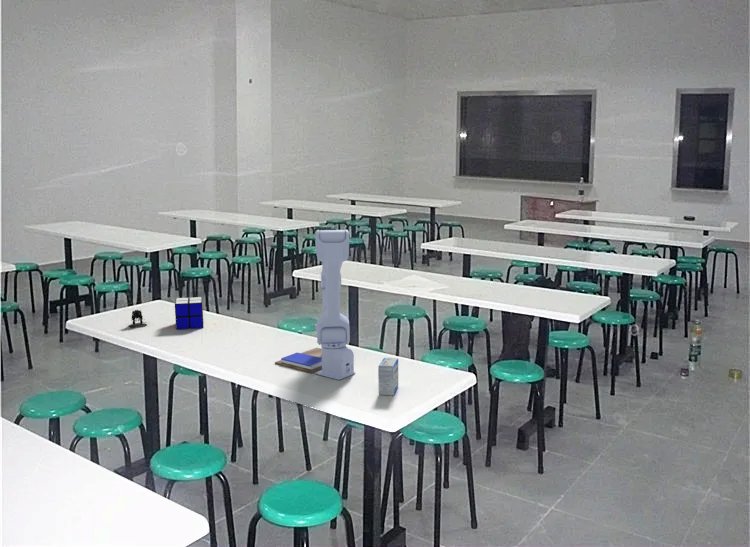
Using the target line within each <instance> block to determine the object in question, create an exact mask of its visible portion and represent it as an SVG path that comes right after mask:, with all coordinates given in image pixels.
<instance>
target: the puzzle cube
mask: <svg viewBox="0 0 750 547" xmlns="http://www.w3.org/2000/svg"><path fill="white" fill-rule="evenodd" d="M203 304H204V303H203V297H201V296H198V297H197V296H196V297H177V298H175V302H174V314H175V315H174V316H175V329H176V330H193V329H204V310H203V309H204V308H203V307H204V306H203Z"/></svg>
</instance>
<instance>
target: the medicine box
mask: <svg viewBox="0 0 750 547" xmlns="http://www.w3.org/2000/svg"><path fill="white" fill-rule="evenodd" d="M377 367H378V372H377V375H378V376H377V377H378V378H377V379H378V383H377V384H378V395H380V396H394V395H395V393H396V391H397V390H398V388H399V358H397V357H384V358H383V359H382V360H381V362H380V363H379V365H378V366H377Z"/></svg>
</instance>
